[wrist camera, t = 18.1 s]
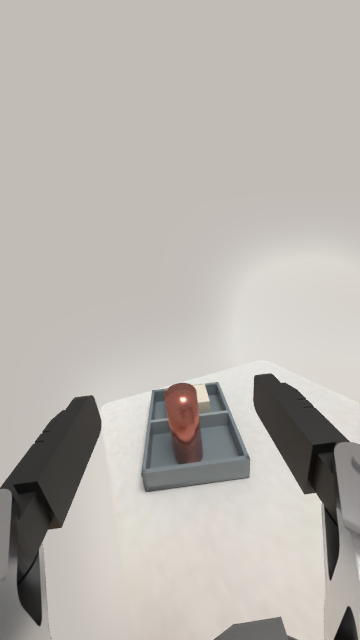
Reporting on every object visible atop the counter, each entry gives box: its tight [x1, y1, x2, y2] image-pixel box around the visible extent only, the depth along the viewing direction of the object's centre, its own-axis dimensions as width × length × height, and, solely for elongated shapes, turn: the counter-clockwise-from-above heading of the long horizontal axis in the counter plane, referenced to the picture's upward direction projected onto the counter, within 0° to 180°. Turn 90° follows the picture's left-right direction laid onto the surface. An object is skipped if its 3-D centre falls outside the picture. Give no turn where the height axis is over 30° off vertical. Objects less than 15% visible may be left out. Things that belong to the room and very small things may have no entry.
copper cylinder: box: [164, 383, 203, 464], centre depth 33 cm, size 6×6×14 cm
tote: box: [141, 382, 250, 492], centre depth 39 cm, size 18×20×4 cm
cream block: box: [166, 384, 210, 417], centre depth 44 cm, size 10×6×5 cm, turn 94°
